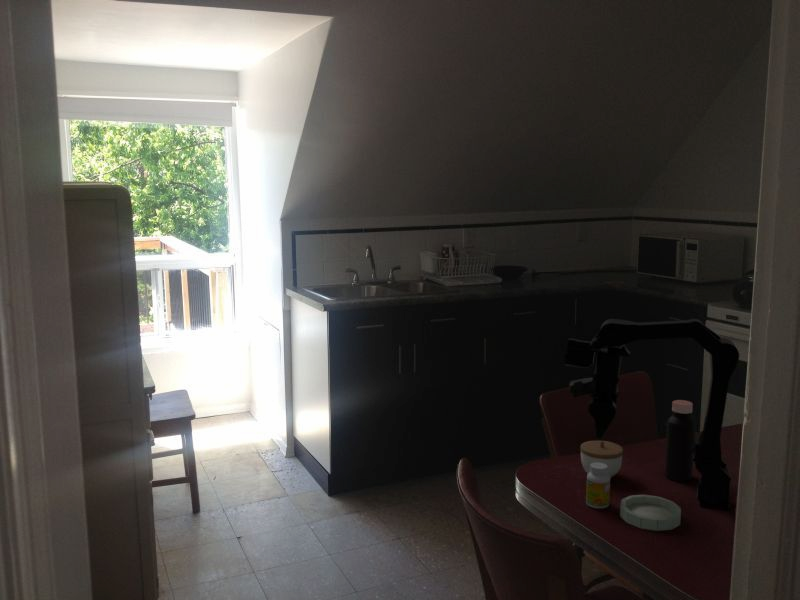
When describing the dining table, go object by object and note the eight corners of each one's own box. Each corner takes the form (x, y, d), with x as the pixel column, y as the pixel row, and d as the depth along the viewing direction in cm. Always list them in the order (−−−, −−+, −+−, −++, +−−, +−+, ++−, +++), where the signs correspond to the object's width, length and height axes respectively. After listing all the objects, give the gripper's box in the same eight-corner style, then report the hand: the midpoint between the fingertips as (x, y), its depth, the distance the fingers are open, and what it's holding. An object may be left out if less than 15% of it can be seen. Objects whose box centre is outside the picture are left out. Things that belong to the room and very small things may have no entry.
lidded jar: (623, 485, 187) (625, 450, 186) (580, 482, 189) (581, 447, 188) (620, 469, 198) (621, 435, 196) (578, 466, 200) (580, 433, 198)
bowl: (680, 509, 173) (680, 499, 173) (680, 534, 161) (680, 523, 161) (622, 501, 178) (622, 491, 177) (618, 524, 166) (618, 514, 165)
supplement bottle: (581, 504, 177) (582, 465, 175) (593, 497, 180) (594, 459, 179) (601, 511, 173) (603, 471, 171) (613, 504, 176) (615, 465, 175)
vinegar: (664, 480, 190) (668, 405, 187) (664, 470, 197) (668, 397, 194) (692, 483, 188) (697, 407, 185) (691, 473, 195) (696, 400, 191)
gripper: (576, 357, 191) (570, 415, 194) (570, 375, 173) (562, 438, 176) (621, 364, 188) (614, 422, 190) (619, 383, 170) (611, 447, 173)
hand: (600, 432), depth 183 cm, fingers open, 9 cm apart
